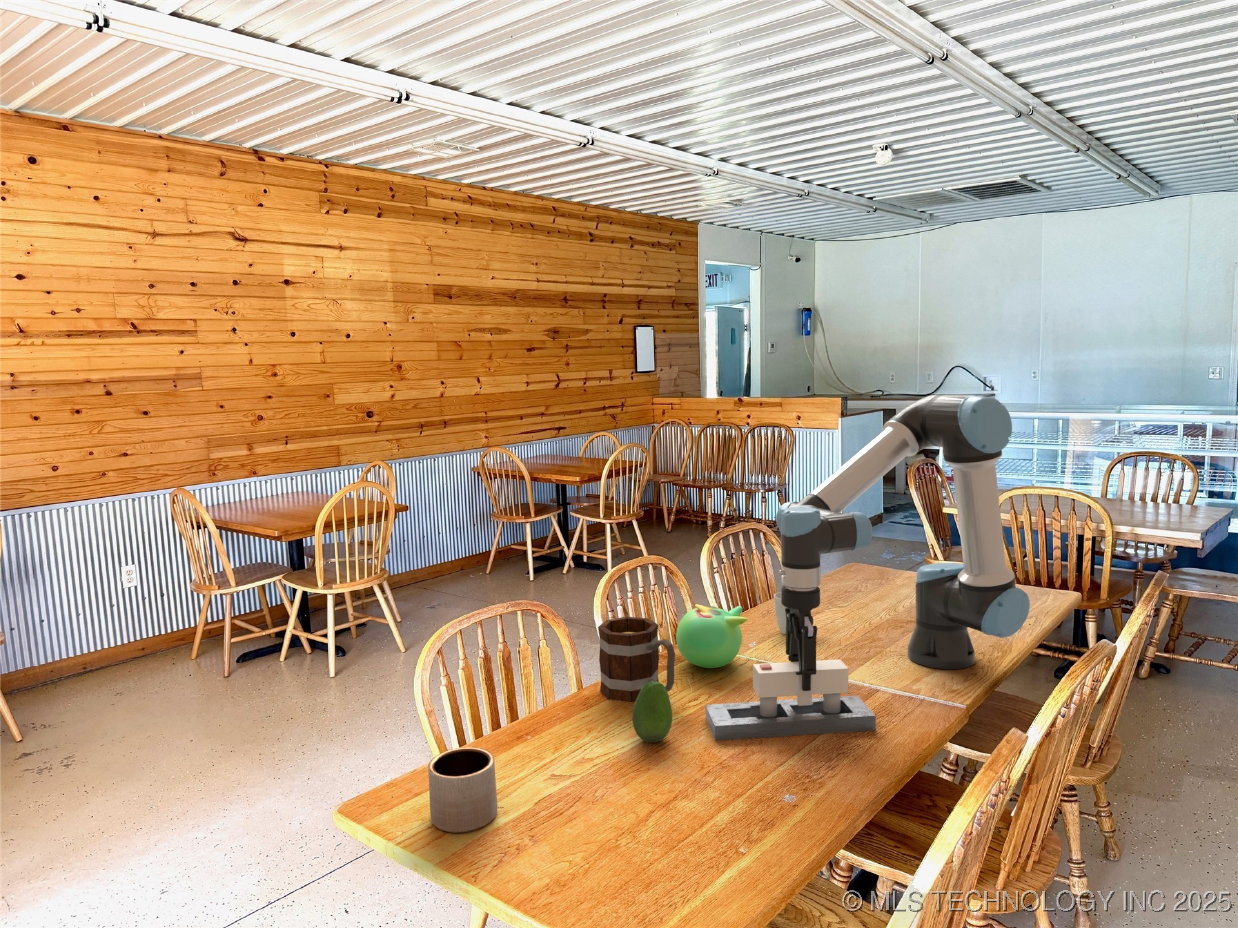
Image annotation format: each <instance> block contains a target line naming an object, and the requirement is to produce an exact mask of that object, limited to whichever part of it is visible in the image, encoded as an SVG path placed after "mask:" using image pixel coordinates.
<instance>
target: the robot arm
mask: <svg viewBox="0 0 1238 928" xmlns="http://www.w3.org/2000/svg"><path fill="white" fill-rule="evenodd" d="M1012 433H1013V422H1012V418H1011V415H1010V412H1009V411H1008V409H1007V407H1006V406H1005V404H1003V403H1002V402H1000V401H999V400H998V399H996V398H994V397H992V396H985V395H984V396H983V395H979V394H946V393H945V394H943V393H940V394H937V393H936V394H931V395H928V396H925V397H922V398H920V399H917V400H916V401H914V402H912V403H911V404H909V405H907V406H906V407H904V408H903V409H901V410H900V411H898V412H897V413H896V414H895V415H893V416H892V417H891V418H890V419H888V420H887V421H886V422H885V423H884V424H883V426H882V431H881V432H880V433H879V434H878V435H877V436H875V437H874V438H873V439H872V440H871V441H869V442H868V443H867V444H866V445H865V446H863V447H862V448H861V449H860V450H859V451H858V452H857V453H855V454H854V455H853V456H852V457H850V458H849V459H848V460H847V461H846V462H845V463H844V464H842V465H841V466H840V467H839V468H837V469H836V470H835V471H834V472H833V473H832V474H830V475H829V476H828V477H827V478H826V479H825V480H824V481H822V482H821V483H820V484H819V485H817V486H816V487H815V488H814V489H813V490H812V491H810V492H809V493H807V495H806V496H804V497H803V498H802V499H801V500H800V501H787V502H785V503H783V504H781V505H780V507H779V508H778V510H777V512H776V515H775V522H776V526H777V528H778V530H779V531H780V544H781V545H780V547H781V548H780V550H781V551H780V552H781V553H780V554H781V555H780V556H781V557H780V559H781V560H780V561H781V569H779V570H778V575H779V576H781V584H782V586H781V588H780V590H781V591H780V592H781V603H782V605H783V606H785V607H787V608H785V613H786V634H785V654H786V656H787V659H788V662H799V671H798V672H796V675H798V696H797V699H798V706H803V705H812V698H813V695H812V675H815V674H816V661H817V634H818V626H817V625H814V617H813V615H812V610H814V609H817V608H818V607H820V605H821V589H820V587H819V586H820V585H821V569H822V568H821V555H825V554H831V553H839V552H846V551H856V550H859V549H862V548H865V547H867V546H868V545H869V544H870V543H871V541H872V539H873V538H872V537H873V526H872V522H871V520H870V518H869V517H868V516H867V515H866V514H865V513H863V512H861V511H847V512H843V511H845V509H847V508H848V507H849V506H851V504H853V503H854V502H855V501H856V500H857V499H858V498H859V497H860V496H862V495H863V494H864V493H865V492H866V491H868V490H869V488H871V487H872V486H873V485H875V484H876V483H877V482H878V481H879V480H881V478H883V477H884V476H885V475H886V474H887V473H888V472H890V471H891V470H892V469H893V468H894V467H896V466H897V465H898V464H899V463H900V462H902V461H903V459H905V458H906V457H914V456H915V455H917V453H919V452H920V451H921V450H924V449H926V448H929V447H937V448H942V456H943V461H944V462H945V463H947V464H948V465H949V466H951V468H952V474H953V483H954V491H955V502H956V508H957V509H956V510H957V518H958V528H959V535H960V545H961V552H962V563H959V562H938V563H930V564H924V565H922V566H920V567H919V568H918V569H917V571H916V581H915V626H914V629H913V632H912V634H911V637H910V639H909V641H908V645H907V657H908V659H909V660H910V661H911V662H914V663H915V664H918V665H920V666H924V667H927V668H934V669H941V670H961V669H966V668H969V667H971V666H973V665H975V661H976V660H975V659H976V657H975V656H976V652H975V649H974V644H973V642H972V639H971V636H970V633H969V630H968V629H972V630H975V631H977V632H981V633H983V634H984V635H986V636H993V637H995V638H999V639H1000V638H1001V639H1002V638H1003V639H1004V638H1008V637H1011V636H1013V635H1015V634H1016V633H1017V632H1019V630H1021V628H1023V626H1024V623H1025V622H1026V621H1027V619H1028V616H1029V614H1030V613H1029V612H1030V605H1031V603H1030V602H1031V601H1030V597H1029V595H1028V593H1027V592H1025V591H1024V589H1022V588H1020V587H1018V586H1016V585H1017V584H1016V576H1015V572H1014V571H1013V570H1011V568H1009V567H1007V564H1006V563H1007V562H1006V556H1005V544H1004V535H1003V526H1002V525H1003V524H1002V516H1001V506H1000V496H999V489H998V488H999V487H998V477H997V470H996V468H997V467H996V463H997V461H998V460H999V459H1001V458H1002V456H1003V452H1002V451H1003V450H1004V449H1005V448H1006V447H1007V445H1008V444H1009V442H1010V437H1011V436H1012Z"/></svg>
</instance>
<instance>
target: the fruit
mask: <svg viewBox="0 0 1238 928" xmlns="http://www.w3.org/2000/svg"><path fill="white" fill-rule="evenodd" d="M665 687H666V685H664V683H661V682H660V681H659V682H658V681H650V682H647V683H646V684H644V685H643V687H642V689H641V690H640V693H639V695H638V697H637V699H636V701H635V702H634V704H633V708H632V711H631V712H632V714H631V715H632V717H631V721H632V726H633V728H634V731H635V734H636V736H637V737H638V738H640V739H641V740H642V741H643V742H646V743H648V744H650V743H658V742H660V741H662V740H664V739H665V738H666V737H667V736H668V734H669V732H670V731H671V728H672V725H673V724H672V723H673V710H672V705H671V703H672V702H671V700H670V696H669V693H668V692H669V691H667V690H666V688H665Z"/></svg>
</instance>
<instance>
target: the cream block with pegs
mask: <svg viewBox="0 0 1238 928" xmlns="http://www.w3.org/2000/svg"><path fill="white" fill-rule="evenodd" d="M798 671H799V662H791V661H788V662H769V663H753V664H752V689H753V690H754V692H755V694H756V695H757V697H758V698H759V701H760V715H762V716H764V717H774V716H776V715H777V700H778V698H781V697H795V696H797V697H798V675H796V672H798ZM847 693H848V694H849V667H848V666H847V665H846V664H845V663H844V662H843V660H841V659H840V658H839V659H826V660H825V659H823V660H822V659H821V660H816V674H815V675H812V696H813V695H815V696H816V695H822V698H823V710H824V711H825V712H827V713H838V712H840V696H841V694H847Z"/></svg>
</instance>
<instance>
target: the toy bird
mask: <svg viewBox="0 0 1238 928" xmlns="http://www.w3.org/2000/svg"><path fill="white" fill-rule="evenodd" d="M694 607H695V608H692V609H691V610H689V611H688V612H687V613H685V614H684V615H683V617H681V619H680V620H679V623H678V626H677V629H676V635H675V638H676V639H675V640H676V642H675V643H676V645H677V648H678V651H679V653H680V654H681V656H682V657H683V658H684V659H685V660H686V661H688V663H691V664H692V665H695V666H698V667H700V668H704V669H705V668H706V669H715V668H721V667H723V666H726V665H728V664H730V663H731V662H733V660H734V659H735V658H736V657H737V656H738V654H739V652H740V649H741V646H742V642H743V636H742V629H741V626H740V625H742V624H745V623H746V622H747V621H748V618H746V617H745V616H741V615H742V612H743V607H742V606H741V605H738V606H735V607H733V608H732V609H730V610H728V611H727V610H725V609H722V608H719V607H716V606H712V605H710V606H706V605H701V604H695V605H694Z"/></svg>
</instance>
